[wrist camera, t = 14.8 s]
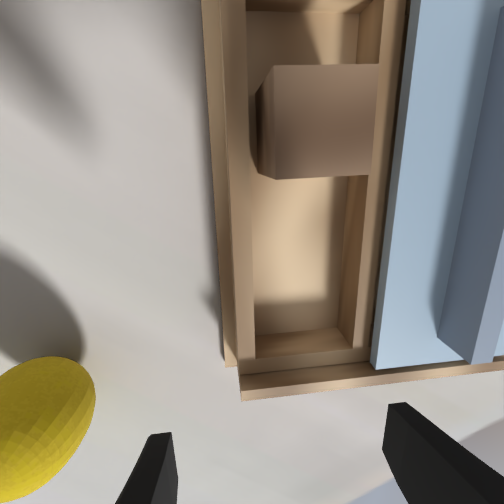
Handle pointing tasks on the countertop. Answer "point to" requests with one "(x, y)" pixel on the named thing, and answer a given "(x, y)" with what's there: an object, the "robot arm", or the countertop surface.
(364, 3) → the wooden tray
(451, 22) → the lid
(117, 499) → the robot arm
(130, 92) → the countertop surface
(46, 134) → the countertop surface
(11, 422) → the lemon
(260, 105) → the block
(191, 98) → the countertop surface
